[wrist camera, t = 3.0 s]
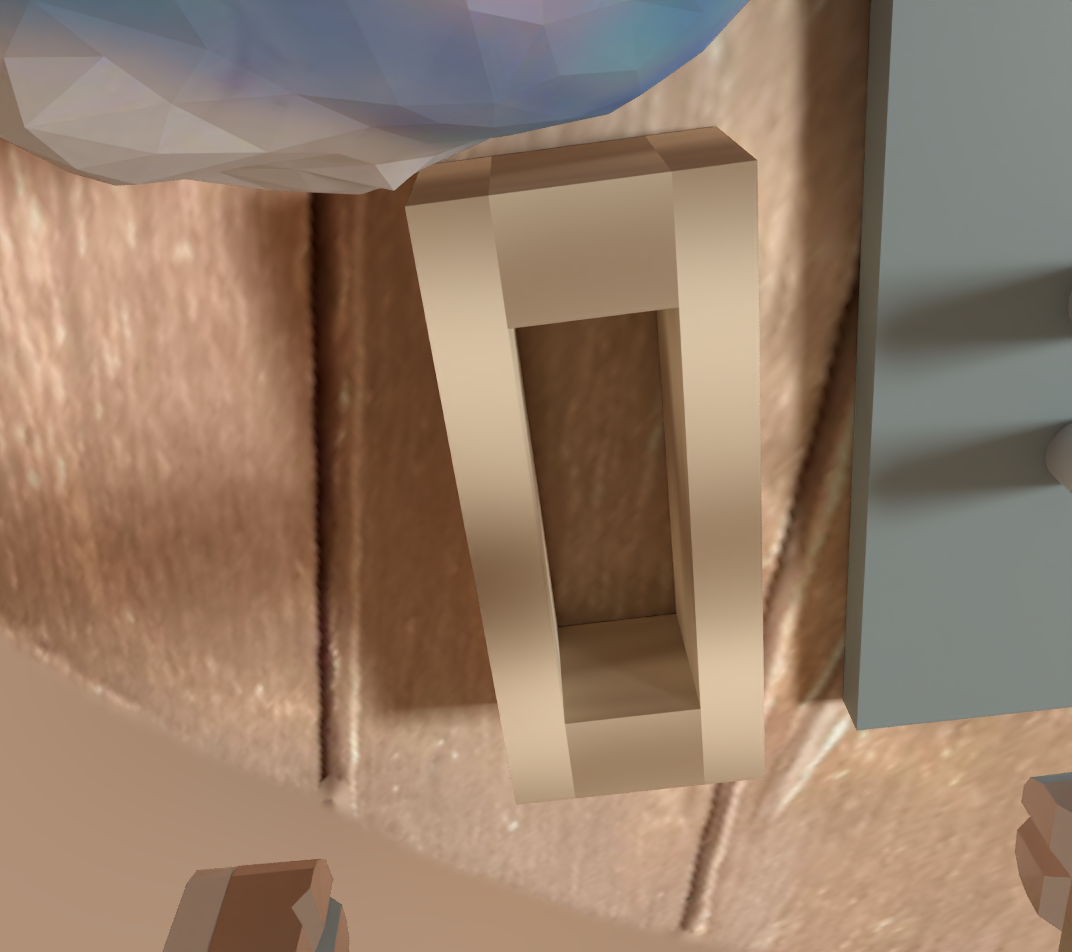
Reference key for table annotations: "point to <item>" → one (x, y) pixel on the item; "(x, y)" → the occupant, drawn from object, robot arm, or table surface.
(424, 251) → the beige wooden rectangular frame
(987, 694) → the boss board
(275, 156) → the decorative rock
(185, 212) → the table surface
